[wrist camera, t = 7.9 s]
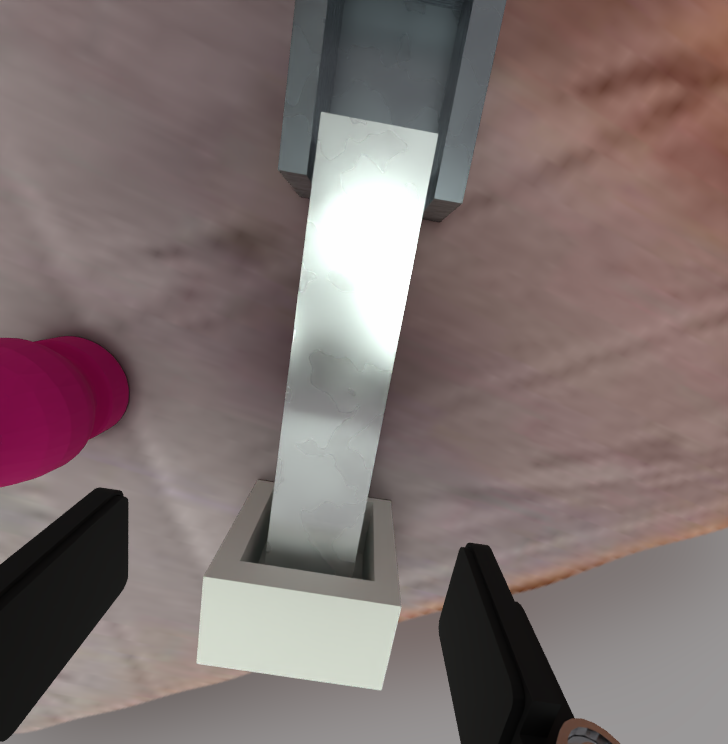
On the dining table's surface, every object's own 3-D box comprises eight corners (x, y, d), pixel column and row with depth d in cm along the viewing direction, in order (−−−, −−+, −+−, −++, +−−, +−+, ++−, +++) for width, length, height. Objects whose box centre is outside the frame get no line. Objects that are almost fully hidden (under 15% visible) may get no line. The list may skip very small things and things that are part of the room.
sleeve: (325, -21, 18) (309, -134, 13) (483, 10, 18) (526, -90, 13) (299, 196, 20) (278, 169, 15) (439, 222, 20) (462, 203, 15)
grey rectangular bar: (332, 155, 19) (319, 110, 14) (421, 172, 19) (439, 133, 14) (280, 539, 24) (258, 605, 19) (349, 550, 24) (344, 618, 19)
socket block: (257, 479, 24) (203, 576, 16) (390, 500, 25) (401, 606, 17) (250, 544, 25) (196, 663, 17) (377, 563, 26) (381, 690, 18)
